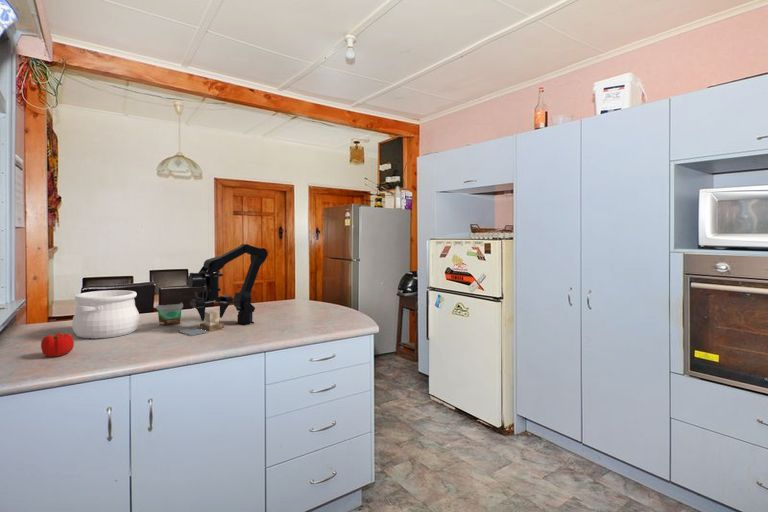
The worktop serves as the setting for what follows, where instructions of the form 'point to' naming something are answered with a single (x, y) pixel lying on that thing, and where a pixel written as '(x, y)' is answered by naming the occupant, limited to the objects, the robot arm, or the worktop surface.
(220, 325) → the walnut pocket
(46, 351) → the tomato
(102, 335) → the pot
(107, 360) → the worktop surface
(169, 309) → the food container
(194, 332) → the slate mat
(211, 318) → the birch block
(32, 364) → the worktop surface
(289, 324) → the worktop surface
